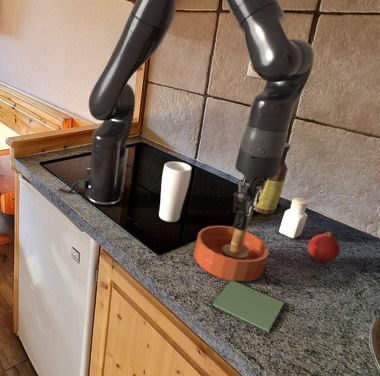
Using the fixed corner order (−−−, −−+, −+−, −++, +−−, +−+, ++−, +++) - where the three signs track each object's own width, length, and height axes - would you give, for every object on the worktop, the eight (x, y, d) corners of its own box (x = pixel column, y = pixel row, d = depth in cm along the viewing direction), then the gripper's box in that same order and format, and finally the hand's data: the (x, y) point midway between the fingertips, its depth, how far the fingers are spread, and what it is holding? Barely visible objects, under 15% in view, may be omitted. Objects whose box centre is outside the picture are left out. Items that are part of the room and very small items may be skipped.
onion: (307, 251, 95) (318, 222, 92) (336, 262, 91) (348, 232, 88) (300, 261, 91) (311, 231, 88) (329, 273, 88) (342, 241, 84)
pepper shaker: (286, 228, 105) (296, 195, 101) (301, 235, 102) (313, 201, 98) (277, 232, 103) (287, 199, 99) (293, 239, 100) (304, 205, 96)
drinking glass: (179, 213, 111) (188, 162, 105) (184, 225, 105) (194, 172, 98) (154, 211, 111) (162, 160, 105) (157, 223, 105) (166, 170, 99)
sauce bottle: (252, 202, 118) (270, 137, 109) (276, 209, 114) (296, 142, 106) (248, 211, 113) (266, 143, 104) (272, 218, 110) (293, 148, 101)
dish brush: (215, 262, 89) (229, 205, 83) (224, 252, 92) (238, 197, 87) (240, 272, 86) (256, 214, 80) (248, 261, 89) (263, 205, 83)
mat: (212, 305, 77) (212, 303, 77) (231, 281, 84) (231, 279, 84) (268, 332, 71) (269, 330, 71) (283, 304, 78) (284, 302, 78)
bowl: (182, 263, 89) (187, 242, 87) (208, 239, 99) (212, 219, 97) (250, 293, 81) (256, 270, 79) (270, 262, 91) (277, 241, 88)
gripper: (252, 137, 85) (234, 209, 92) (228, 152, 76) (210, 232, 83) (291, 145, 80) (269, 221, 88) (271, 163, 71) (248, 246, 78)
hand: (241, 226), depth 85 cm, fingers closed on dish brush
